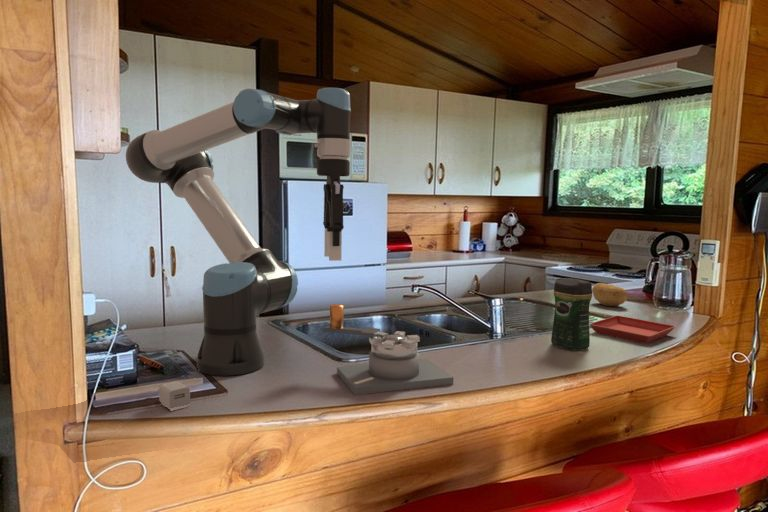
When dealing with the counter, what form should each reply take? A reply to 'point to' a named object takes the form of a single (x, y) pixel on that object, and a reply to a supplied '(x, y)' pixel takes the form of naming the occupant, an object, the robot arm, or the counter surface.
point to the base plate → (389, 385)
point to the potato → (609, 294)
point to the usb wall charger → (174, 394)
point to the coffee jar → (571, 314)
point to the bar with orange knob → (376, 337)
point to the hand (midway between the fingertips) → (332, 258)
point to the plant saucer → (631, 329)
